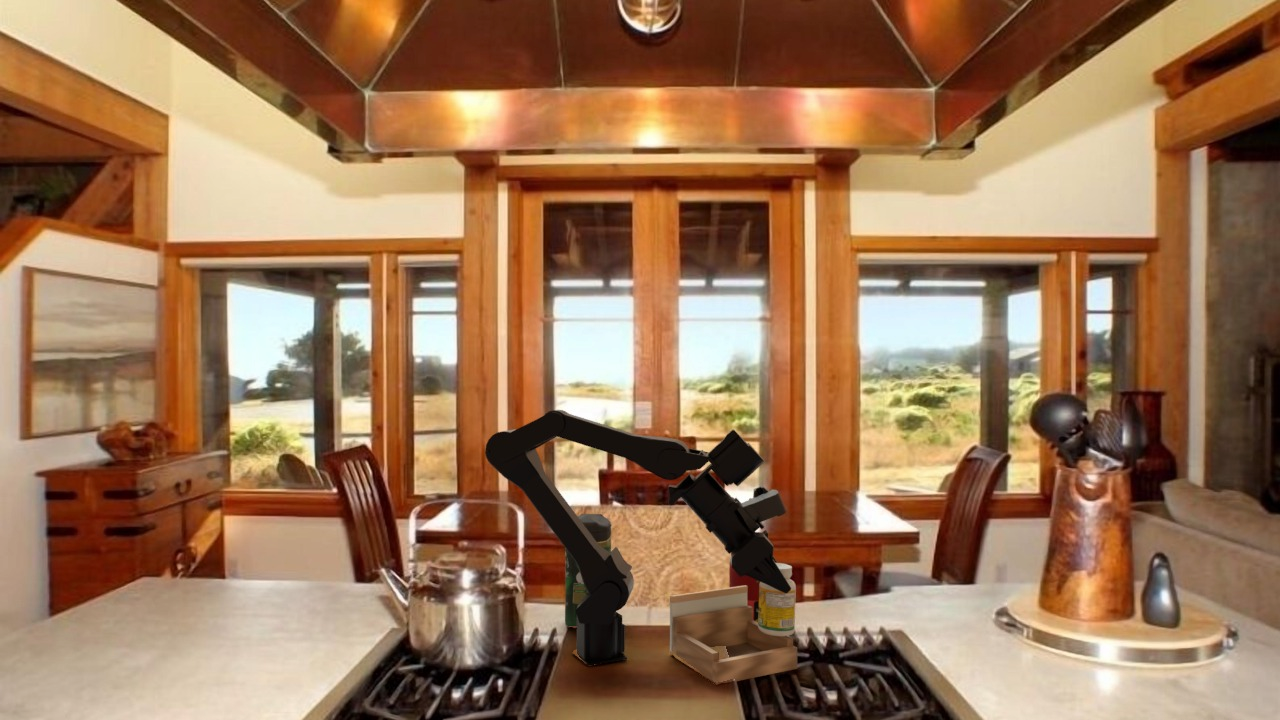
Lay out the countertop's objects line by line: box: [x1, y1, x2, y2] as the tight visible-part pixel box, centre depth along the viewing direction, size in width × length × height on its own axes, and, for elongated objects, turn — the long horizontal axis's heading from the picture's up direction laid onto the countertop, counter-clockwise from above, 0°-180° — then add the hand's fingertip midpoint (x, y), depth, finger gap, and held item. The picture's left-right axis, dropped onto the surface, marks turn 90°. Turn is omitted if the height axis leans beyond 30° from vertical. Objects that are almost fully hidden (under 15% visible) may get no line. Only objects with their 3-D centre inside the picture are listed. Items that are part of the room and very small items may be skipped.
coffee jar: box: [564, 513, 612, 628], centre depth 131 cm, size 10×8×19 cm
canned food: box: [728, 556, 760, 622], centre depth 133 cm, size 8×8×11 cm
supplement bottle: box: [758, 562, 797, 637], centre depth 112 cm, size 5×5×10 cm
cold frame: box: [673, 606, 798, 683], centre depth 113 cm, size 14×12×6 cm
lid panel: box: [669, 585, 748, 652], centre depth 119 cm, size 14×1×9 cm, turn 117°
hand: (786, 586), depth 112 cm, fingers closed on supplement bottle, 5 cm apart
